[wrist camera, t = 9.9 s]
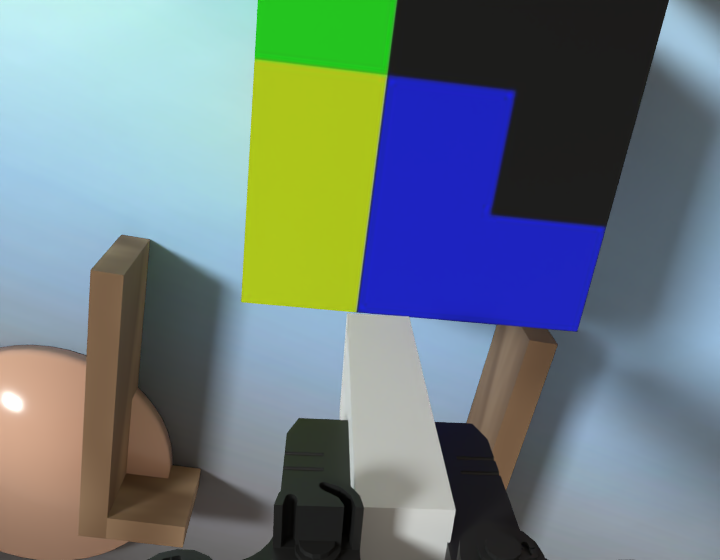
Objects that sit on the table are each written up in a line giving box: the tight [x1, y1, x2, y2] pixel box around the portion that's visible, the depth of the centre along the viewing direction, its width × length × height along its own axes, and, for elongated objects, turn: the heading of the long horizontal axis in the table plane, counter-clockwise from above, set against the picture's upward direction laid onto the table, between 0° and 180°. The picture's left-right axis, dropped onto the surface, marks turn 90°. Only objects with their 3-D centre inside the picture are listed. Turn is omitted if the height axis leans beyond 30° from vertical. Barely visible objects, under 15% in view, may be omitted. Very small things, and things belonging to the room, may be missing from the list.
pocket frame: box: [78, 235, 558, 548], centre depth 30 cm, size 18×13×4 cm
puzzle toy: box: [241, 0, 669, 332], centre depth 22 cm, size 10×10×10 cm
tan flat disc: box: [0, 345, 173, 560], centre depth 32 cm, size 12×12×1 cm
